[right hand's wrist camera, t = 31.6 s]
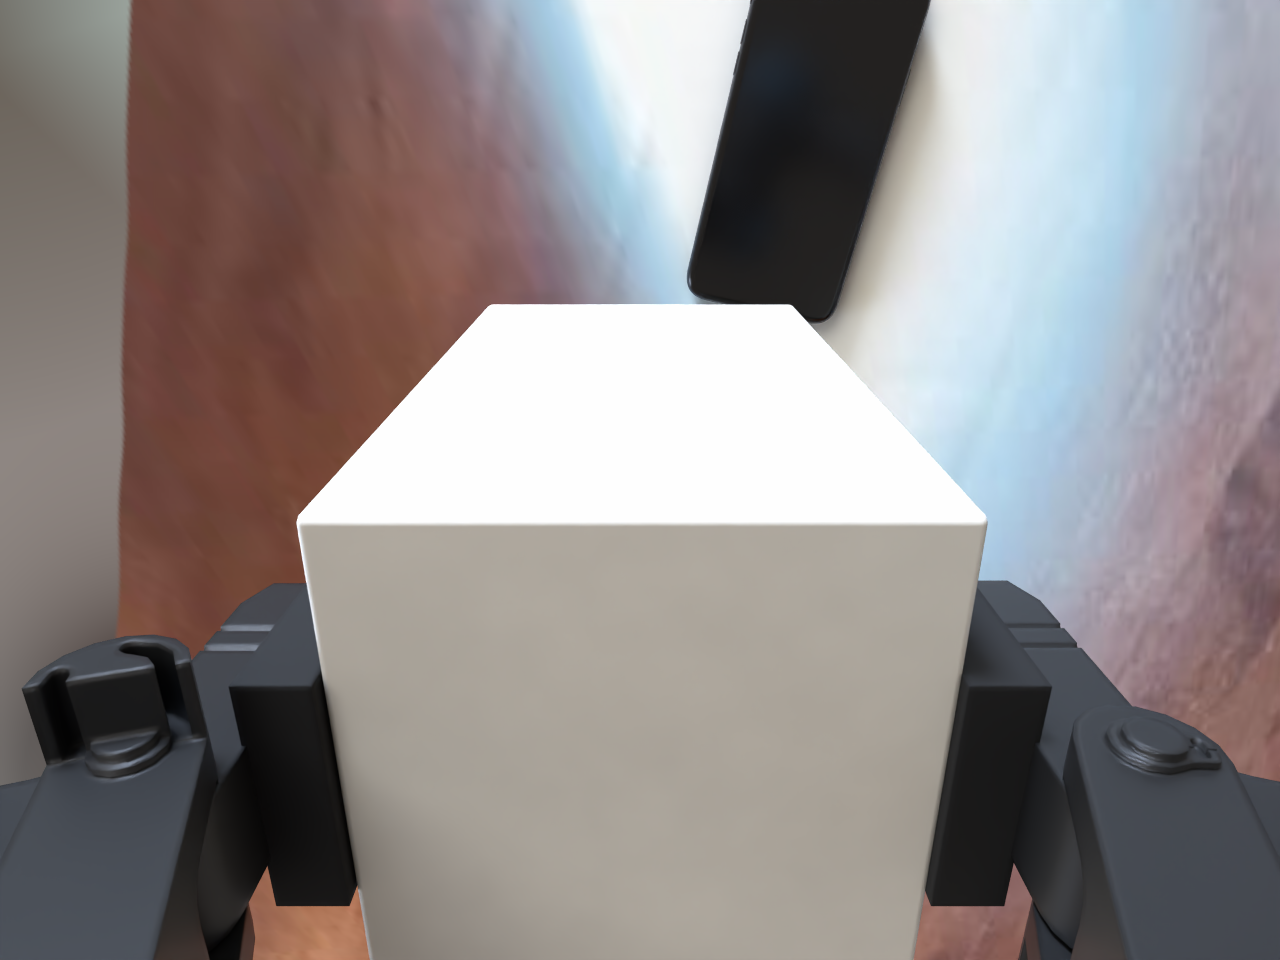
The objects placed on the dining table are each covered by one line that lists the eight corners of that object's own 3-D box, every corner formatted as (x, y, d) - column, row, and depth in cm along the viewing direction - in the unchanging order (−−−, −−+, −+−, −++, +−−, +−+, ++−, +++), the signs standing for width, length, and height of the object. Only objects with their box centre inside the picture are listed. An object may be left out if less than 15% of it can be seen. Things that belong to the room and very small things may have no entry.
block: (488, 304, 17) (291, 517, 7) (793, 303, 17) (993, 516, 7) (506, 583, 19) (376, 1018, 10) (774, 583, 19) (906, 1018, 10)
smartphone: (829, 325, 44) (934, -21, 38) (832, 329, 43) (941, -25, 37) (680, 292, 43) (765, -65, 37) (681, 295, 42) (767, -69, 36)
